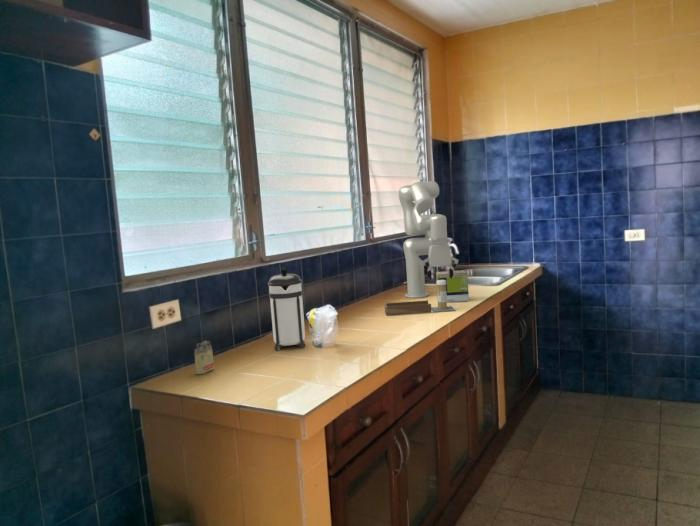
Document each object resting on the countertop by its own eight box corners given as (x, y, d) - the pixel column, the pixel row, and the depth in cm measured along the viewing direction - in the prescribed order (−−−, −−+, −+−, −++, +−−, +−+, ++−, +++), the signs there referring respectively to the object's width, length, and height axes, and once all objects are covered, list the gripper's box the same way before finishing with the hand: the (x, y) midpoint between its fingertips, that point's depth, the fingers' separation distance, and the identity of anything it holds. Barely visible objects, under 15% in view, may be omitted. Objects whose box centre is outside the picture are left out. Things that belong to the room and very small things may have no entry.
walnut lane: (384, 311, 263) (384, 303, 263) (428, 308, 263) (427, 300, 263) (386, 315, 253) (385, 307, 253) (431, 312, 253) (431, 304, 253)
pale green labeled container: (202, 375, 179) (199, 345, 178) (193, 374, 181) (190, 344, 180) (216, 368, 185) (213, 339, 184) (207, 367, 187) (205, 339, 186)
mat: (430, 308, 263) (430, 307, 263) (451, 307, 263) (451, 306, 263) (433, 312, 253) (433, 311, 253) (455, 311, 253) (455, 310, 253)
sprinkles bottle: (436, 308, 260) (435, 280, 259) (446, 307, 261) (444, 279, 260) (439, 309, 256) (437, 281, 255) (448, 309, 256) (447, 280, 255)
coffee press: (319, 343, 211) (313, 265, 208) (287, 353, 199) (281, 270, 196) (290, 338, 223) (284, 264, 219) (258, 347, 211) (251, 269, 208)
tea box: (466, 298, 284) (465, 269, 283) (469, 301, 274) (467, 272, 273) (437, 299, 286) (435, 271, 284) (438, 303, 276) (437, 273, 274)
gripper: (456, 240, 259) (457, 276, 261) (419, 242, 259) (420, 278, 261) (459, 241, 251) (460, 278, 254) (421, 244, 251) (423, 281, 254)
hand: (440, 278), depth 258 cm, fingers open, 9 cm apart
